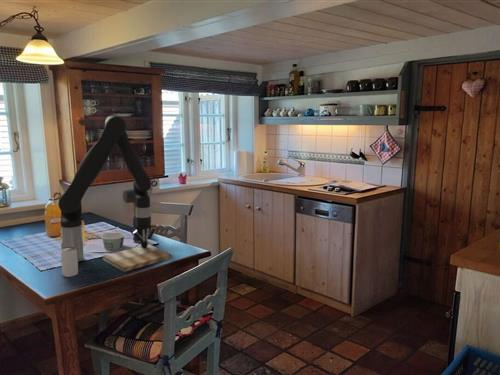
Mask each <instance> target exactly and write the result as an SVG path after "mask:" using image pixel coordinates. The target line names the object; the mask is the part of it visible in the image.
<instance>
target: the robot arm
mask: <svg viewBox="0 0 500 375" xmlns="http://www.w3.org/2000/svg"><path fill="white" fill-rule="evenodd" d="M115 145H116V146H117V149H118V150H119V152H120V155H121V158H122V160H123V162H124V165H125V166H126V169H127V170H128V173H129V174H130V175H131V176H132V177H133V179H134V180H133V189H134V192H135V197H136V230H135V231H134V230H133V232H131V235H132V236H134V237H135V238H136V239H137V240H138V241H139V242H140V247H142V248H147V245H148V240H151V239H152V237H153V235H154V233H155V232H156V228H154V227H153V226H152V211H151V210H152V208H151V198H150V195H149V192H148V191H150V189H151V188H152V181H151V179H150V177H149V175H148V174H147V172H146V170H145V169H144V167H143V164H142V162H141V159H140V158H139V155H138V154H137V151H135V149H134V147H133V145H132V143H131V141H130V139H129V137H128V135H127V123H126V121H125V119H124V118H122V116H120V115H117V114H116V115H115V114H111V115H109V116H107V117H106V118H105V121H104V128H103V130H102V131H101V135H100V136H99V138H98V140H97V141H96V142H95V143H94V145H93V146H92V147H91V148H90V149H89V150H88V151H87V153H86V154H85V156H84V157H83V159H82V160H81V162H80V164H79V166H78V168H77V171H76V172H75V175H74V177H73V179H72V182H71V183H70V185H69V186H68V187H67V189H66V190H65V192H63V193H62V195H61V196H60V197H59V199H58V204H57V205H58V209H59V210H60V233H61V234H60V235H61V243H60V250H61V251H62V248H64V247H69V246H73V247H76V250H77V260H78V262H80V261H83V260H84V258H85V256H84V240H83V238H84V237H83V223H82V221H83V213H82V211H83V210H82V200H83V199H84V195H85V194H86V192H87V190H88V189H89V187H90V186H91V185H92V184H93V183H94V181H95V180H96V178H97V177H98V176H99V174H100V173H101V171H102V169H103V168H104V165H106V162H107V160H108V158H109V156H110V154H111V153H112V150H113V148H114V147H115ZM147 192H148V193H147ZM137 232H138V233H139V236H140V237H139V236H138V233H137ZM61 251H60V252H61Z"/></svg>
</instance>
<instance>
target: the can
mask: <svg viewBox="0 0 500 375" xmlns="http://www.w3.org/2000/svg"><path fill="white" fill-rule="evenodd" d="M60 259H61V260H60V261H61V275H62V276H63V277H65V278H71V277H75V276H77V275H78V274H79V265H78V264H79V261H78V260H77V250H76V247H73V246H69V247H64V248H62V251H60Z"/></svg>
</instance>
